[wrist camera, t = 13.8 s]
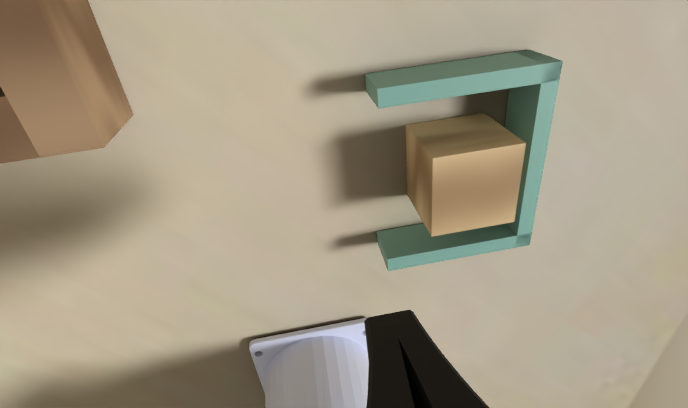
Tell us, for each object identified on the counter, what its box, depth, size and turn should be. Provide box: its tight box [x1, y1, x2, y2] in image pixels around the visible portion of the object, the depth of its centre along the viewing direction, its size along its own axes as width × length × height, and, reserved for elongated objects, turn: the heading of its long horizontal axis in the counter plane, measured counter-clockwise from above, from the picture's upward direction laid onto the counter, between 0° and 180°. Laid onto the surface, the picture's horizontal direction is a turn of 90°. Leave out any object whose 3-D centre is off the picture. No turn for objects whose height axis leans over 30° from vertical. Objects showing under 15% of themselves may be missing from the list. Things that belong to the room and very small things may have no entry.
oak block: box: [406, 113, 526, 237], centre depth 19 cm, size 4×4×4 cm
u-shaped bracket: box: [365, 50, 563, 271], centre depth 20 cm, size 10×8×2 cm
